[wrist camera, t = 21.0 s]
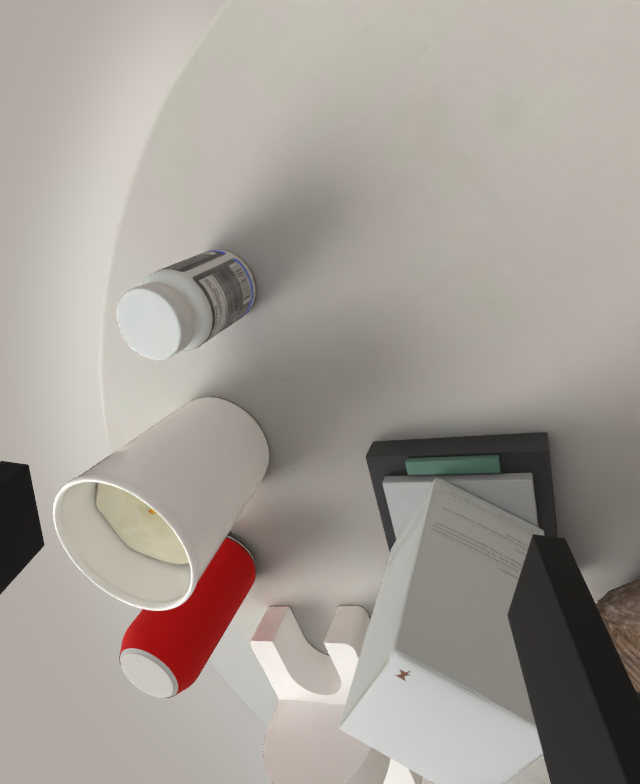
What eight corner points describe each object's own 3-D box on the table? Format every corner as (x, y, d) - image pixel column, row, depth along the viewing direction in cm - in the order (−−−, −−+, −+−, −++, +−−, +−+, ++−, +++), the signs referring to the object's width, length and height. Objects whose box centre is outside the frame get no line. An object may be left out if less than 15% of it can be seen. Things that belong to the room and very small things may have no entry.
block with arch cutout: (426, 750, 48) (403, 898, 39) (333, 738, 52) (293, 870, 43) (364, 605, 42) (320, 738, 33) (266, 606, 47) (203, 724, 37)
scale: (372, 441, 35) (362, 463, 33) (547, 431, 31) (549, 456, 28) (403, 565, 39) (395, 593, 37) (561, 573, 35) (564, 605, 32)
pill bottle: (187, 300, 35) (103, 342, 28) (202, 236, 33) (114, 264, 26) (246, 331, 35) (176, 382, 28) (266, 268, 32) (195, 307, 25)
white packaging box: (388, 548, 35) (330, 728, 24) (436, 472, 31) (393, 648, 20) (487, 601, 34) (473, 813, 24) (550, 530, 30) (566, 746, 20)
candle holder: (287, 409, 36) (197, 516, 26) (272, 511, 41) (192, 634, 31) (168, 370, 38) (42, 455, 28) (167, 471, 43) (60, 574, 33)
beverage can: (261, 538, 43) (181, 662, 33) (261, 590, 46) (188, 718, 36) (197, 519, 45) (103, 631, 35) (201, 570, 48) (115, 688, 38)
